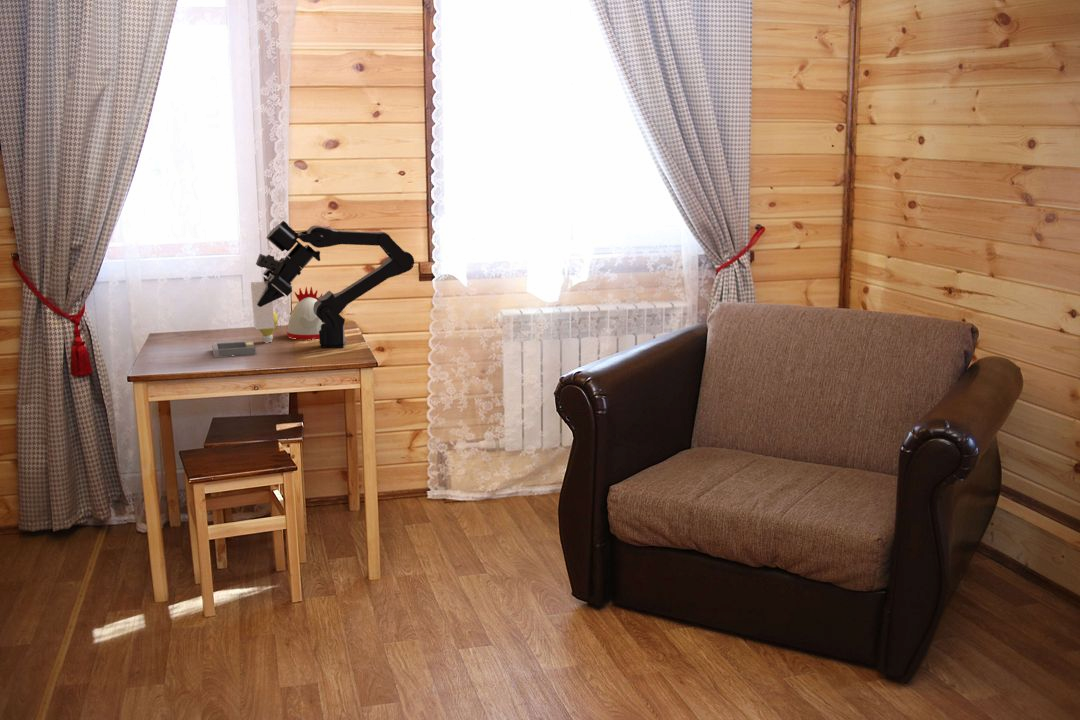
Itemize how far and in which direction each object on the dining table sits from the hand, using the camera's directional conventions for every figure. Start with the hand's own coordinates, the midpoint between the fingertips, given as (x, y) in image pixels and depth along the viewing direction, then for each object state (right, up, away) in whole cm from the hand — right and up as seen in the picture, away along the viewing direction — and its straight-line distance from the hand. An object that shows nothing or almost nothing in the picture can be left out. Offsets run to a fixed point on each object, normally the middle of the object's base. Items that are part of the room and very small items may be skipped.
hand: (257, 304), depth 296 cm
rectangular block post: (+1, -6, +2) cm, 7 cm away
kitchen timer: (+9, -8, +25) cm, 28 cm away
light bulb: (-1, -10, +15) cm, 18 cm away
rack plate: (-7, -13, +1) cm, 15 cm away
